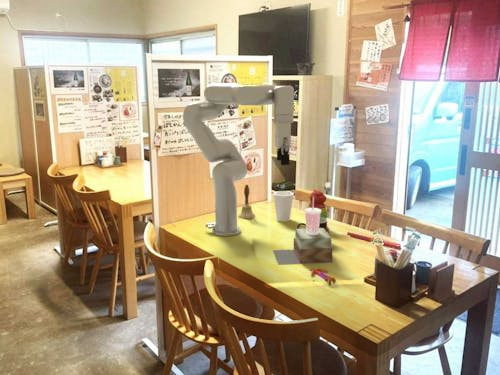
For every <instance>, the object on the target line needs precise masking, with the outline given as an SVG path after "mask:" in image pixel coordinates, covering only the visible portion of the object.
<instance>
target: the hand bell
mask: <svg viewBox="0 0 500 375" xmlns="http://www.w3.org/2000/svg"><path fill="white" fill-rule="evenodd" d="M243 194H244V204H243V205H242V207H241V211H240V213H239V214H238V218H240V219H247V220H248V219H249V220H250V219H254V218H256V214H255V213H254V212H253V210H252V205H251V204H249V196H250V187H249V185H248V184H245V185H244V190H243Z"/></svg>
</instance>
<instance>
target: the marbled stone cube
mask: <svg viewBox="0 0 500 375" xmlns="http://www.w3.org/2000/svg"><path fill="white" fill-rule="evenodd" d="M294 233H295V237H294V238H293V249H294V252H295V254H296V256H297V258H298V260H299V262H300V263H304V262H329V261H332V262H333V247H332V237H331V236H330V234H329V232H326V230H325V229H324V228H319V233H318V234H317V235H309V234H306V228H299V229H297V228H296V229H295V232H294Z"/></svg>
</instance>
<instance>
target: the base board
mask: <svg viewBox="0 0 500 375" xmlns="http://www.w3.org/2000/svg"><path fill="white" fill-rule="evenodd" d="M272 252H273V255H274V258H275V260H276V263H277V265H278V266H279V265H280V266H282V265H307V264H309V265H310V264H330V263H331V264H332V263H334V262H333V260H332V261H329V262H304V263H300V262H299V260H298V258H297V256H296V254H295V252H294V248H293V249H276V250H275V249H273V250H272Z"/></svg>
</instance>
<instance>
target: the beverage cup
mask: <svg viewBox="0 0 500 375" xmlns="http://www.w3.org/2000/svg"><path fill="white" fill-rule="evenodd" d="M320 213H321V209H318V208H314V197H313V206H312V208H305V209H304V214H305V224H306V226H305V229H306V234H309V235H317V234H318V233H319V223H320Z"/></svg>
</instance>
